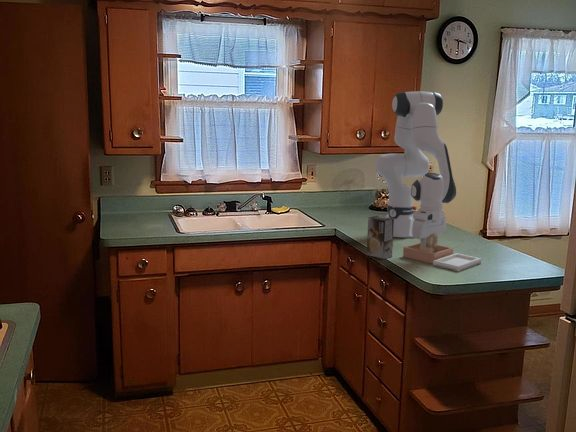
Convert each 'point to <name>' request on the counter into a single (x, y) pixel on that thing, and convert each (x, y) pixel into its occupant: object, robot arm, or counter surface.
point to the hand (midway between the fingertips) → (428, 246)
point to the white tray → (457, 262)
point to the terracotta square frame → (426, 253)
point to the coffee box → (380, 237)
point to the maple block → (430, 244)
